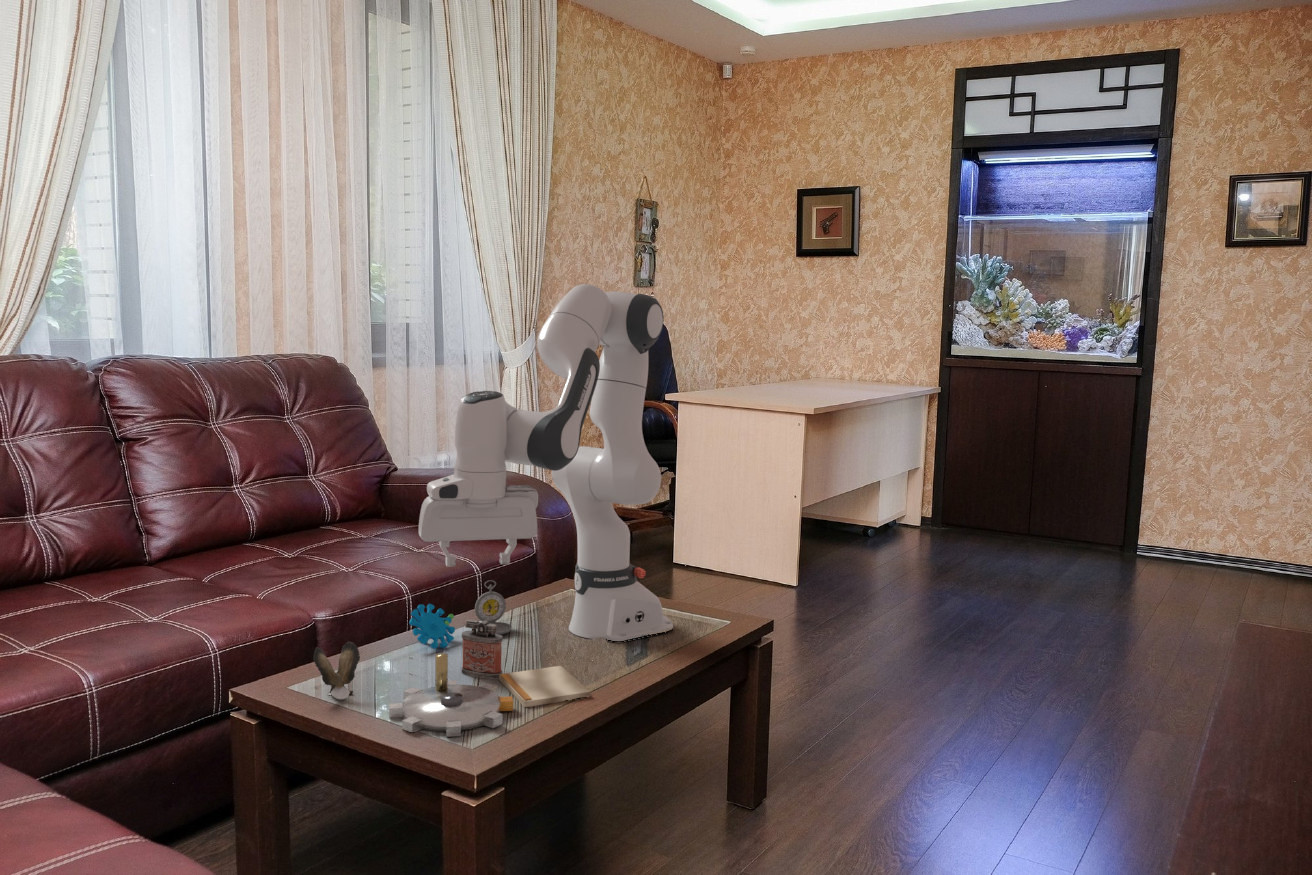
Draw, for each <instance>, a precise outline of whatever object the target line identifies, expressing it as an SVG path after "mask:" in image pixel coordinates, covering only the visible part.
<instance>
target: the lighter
mask: <svg viewBox="0 0 1312 875" xmlns="http://www.w3.org/2000/svg"><path fill="white" fill-rule="evenodd" d="M479 621H480V620H474V619H467V620H465V624H464V626H465V628H466V629H471V630H465V631H462V632H461V638H462V666H461V674H463V675H466V676H471V677H475V678H481V679H491V680H497V679H498V680H499V674H503V670H502V644H503V634H500V635H498V634H495V633H496V625H495V624H490V623H489V622H488V621H480V622H479Z"/></svg>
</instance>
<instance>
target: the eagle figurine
mask: <svg viewBox="0 0 1312 875" xmlns="http://www.w3.org/2000/svg"><path fill="white" fill-rule="evenodd" d="M360 658H361V656H360V651H359V648H358V646H357V645H356V644H355V643H354V642H351V641H349V640H348V641H347V642H345V643H344V645H342V648H341V652H340V656H339V659H338V668H337V671H335V670H334V667H333V666H332V664H331V662H330V660H329V659H328V657H327V656H326V654H325V651H324V650H323V649H322V648H319V647H318V646H317V647H315V650H314V654H313V661H314V664H315V666H316V668H317V670H318V671H319V673H320V675H321V680H322V682H323V683H324V684H325V685H326V686H330V690H329V692H328V694H329V693H331V695H332V696H331V697H333V698H335V699H336V700H346V699H347V698H348V697H349V696H350V695H349V694H352V695H353V694H354V691H352V690H349V689H348V688H347V687H346V686H345V685H349V684H350V683H351V682H352V681H353V680H354V678H355V677H356V676H355V672H356V669H357V666H358V663H359V662H360Z"/></svg>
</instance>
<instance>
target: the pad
mask: <svg viewBox="0 0 1312 875" xmlns="http://www.w3.org/2000/svg"><path fill="white" fill-rule="evenodd" d="M498 680H499V682H500V683H501V684H502V685H503V686H504V687H505V688H506V689H507V691H509V692H510V693H511V694H512V695H513V696H514V698H515V699H516V700H517V701H518V702H519V703H520V705H522V706H523V707H524V708H529V707H536V706H542V705H548V704H554V703H555V704H556V703H561V702H562V703H563V702H566V701H565V700H568V701H572V699H575V698H579V697H587V696H590V697H591V691H590V690H589V689H588V688H587V687H586V686H584V685H583V684H582V683H581V682H580V681H579V680H578V679H577V678H576V677H575V676H573V675H572V674H571V673H570V672H569V671H567V669H566V668H564V667H563V666H562V665H555V666H548V667H541V668H536V669H527V670H521V671H514V672H507V673H502V674H499V678H498ZM587 698H588V697H587ZM575 700H576V699H575Z"/></svg>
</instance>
